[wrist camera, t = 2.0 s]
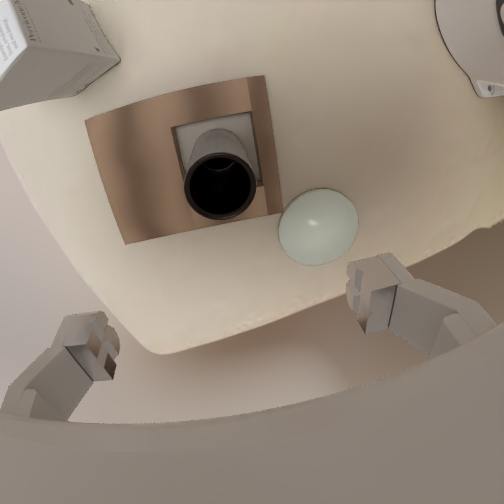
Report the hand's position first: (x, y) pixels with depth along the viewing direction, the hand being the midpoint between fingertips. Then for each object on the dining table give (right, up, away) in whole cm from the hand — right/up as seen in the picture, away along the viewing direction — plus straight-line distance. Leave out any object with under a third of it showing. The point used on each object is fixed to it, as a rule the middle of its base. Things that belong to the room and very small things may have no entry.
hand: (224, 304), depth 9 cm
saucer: (+8, +4, +23) cm, 25 cm away
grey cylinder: (-2, +11, +18) cm, 21 cm away
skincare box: (-15, +21, +10) cm, 27 cm away
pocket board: (-5, +10, +17) cm, 21 cm away
